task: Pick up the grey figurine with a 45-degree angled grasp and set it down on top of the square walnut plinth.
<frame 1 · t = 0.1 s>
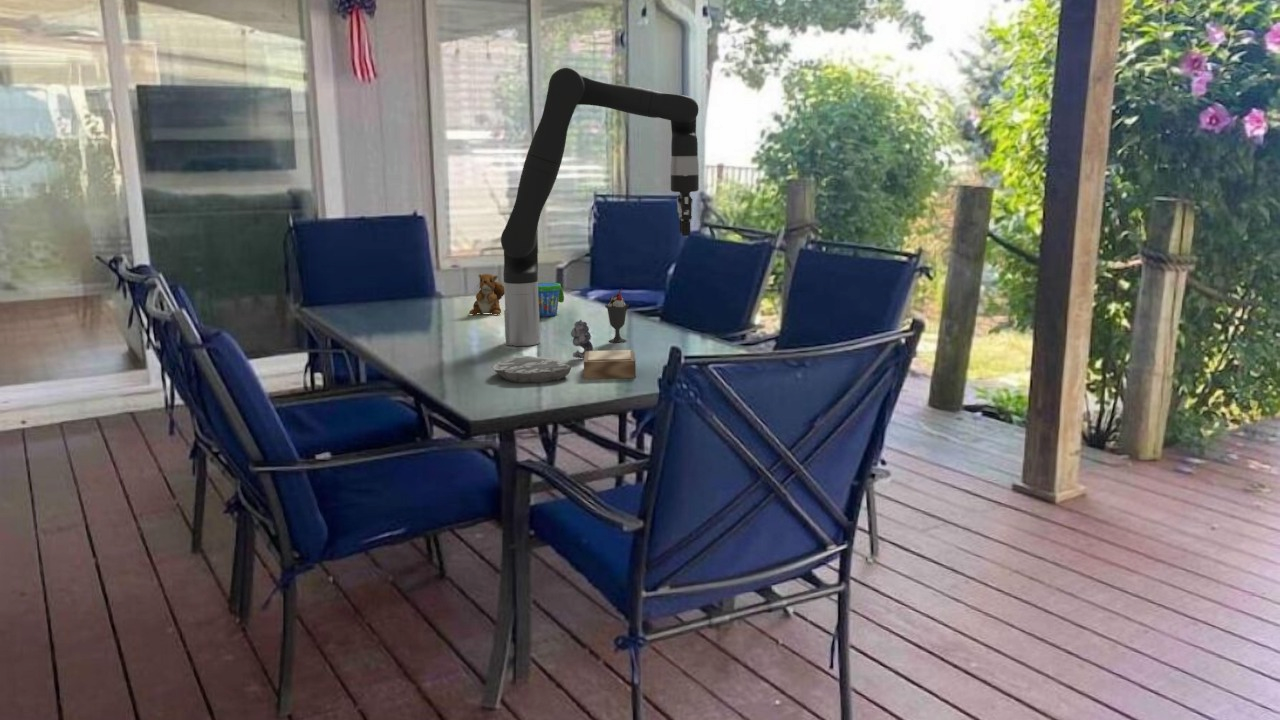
hand: (684, 234, 263), 29 cm above the table, tool pointing down, fingers open, 8 cm apart
plinth: (610, 372, 231), on the table
stuffed squirrel: (489, 313, 320), on the table
sundae: (617, 342, 268), on the table
snack cup: (545, 316, 313), on the table
grey figurine: (582, 358, 248), on the table
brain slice: (529, 378, 229), on the table
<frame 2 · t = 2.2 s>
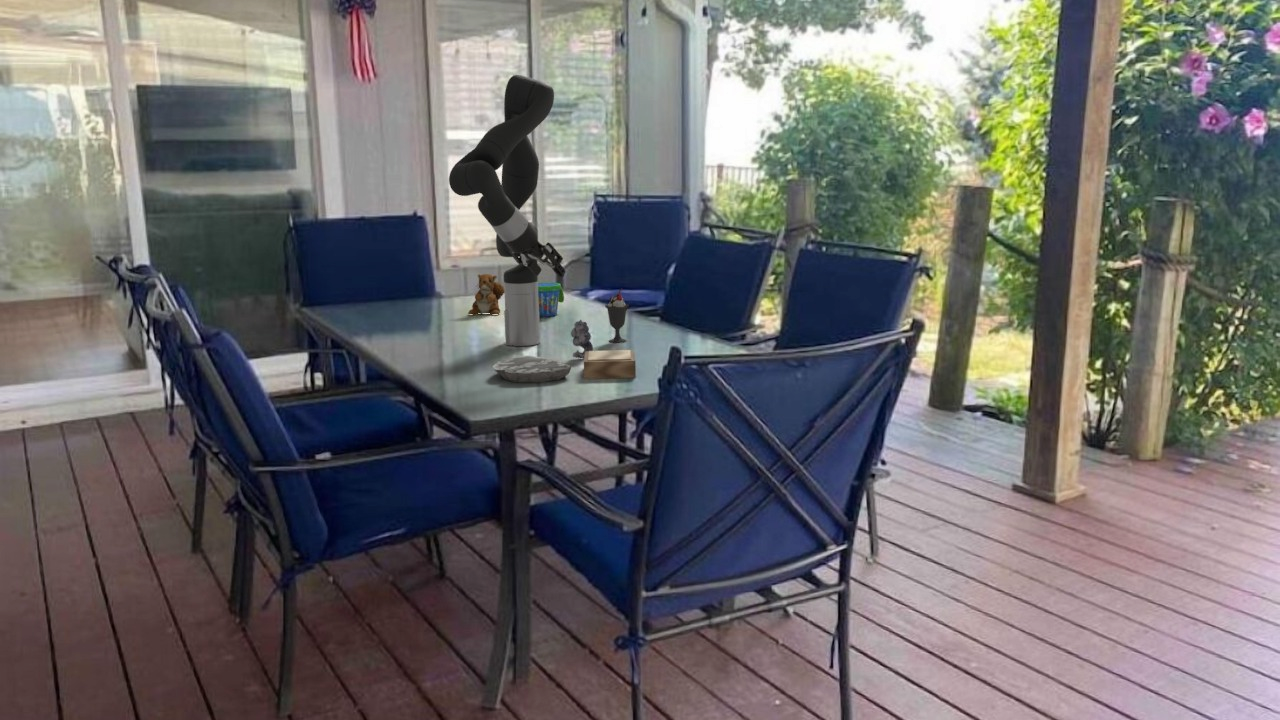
hand: (550, 273, 236), 23 cm above the table, tool tilted 45°, fingers open, 8 cm apart
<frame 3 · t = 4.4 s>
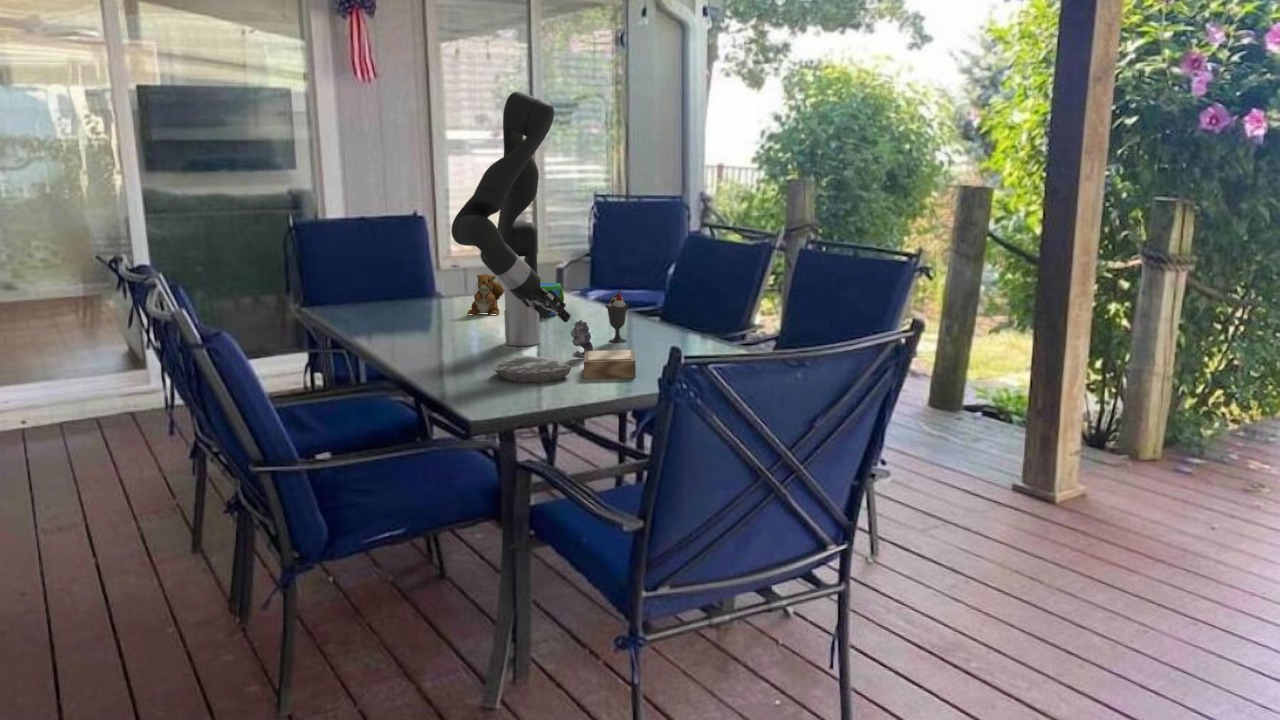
hand: (557, 317, 240), 11 cm above the table, tool tilted 45°, fingers open, 8 cm apart
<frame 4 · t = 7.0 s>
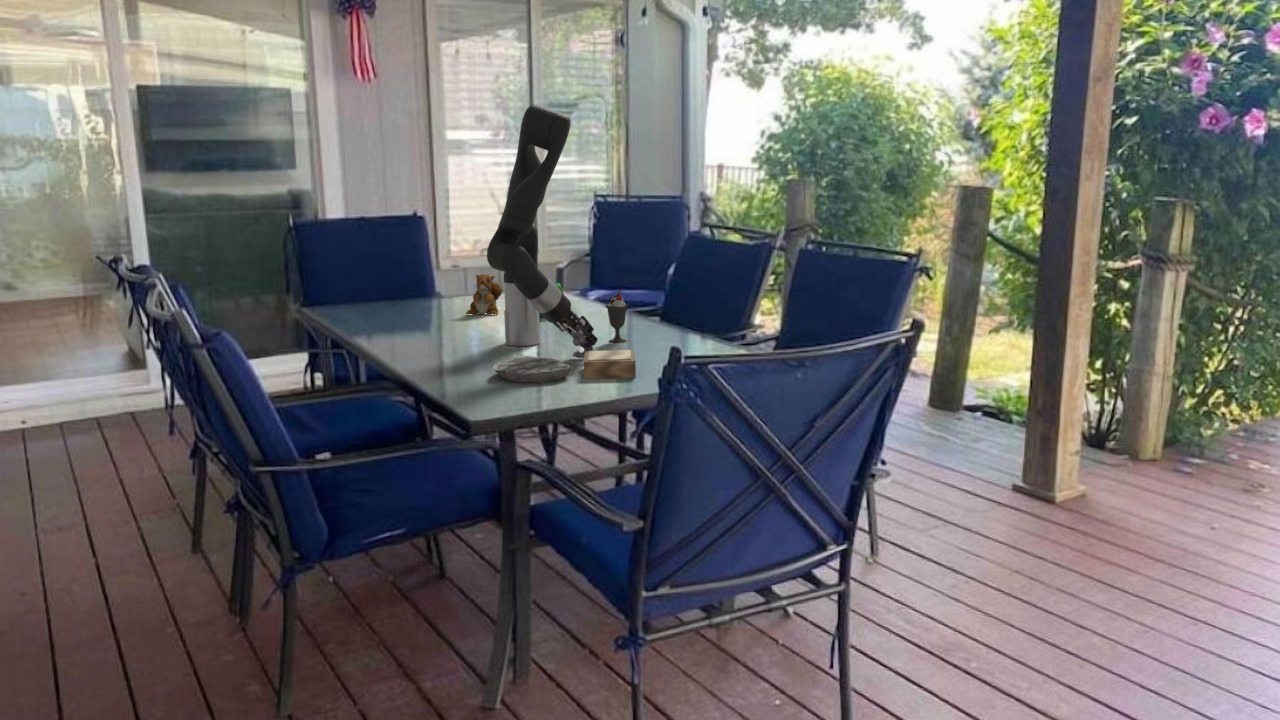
hand: (587, 340, 248), 4 cm above the table, tool tilted 45°, fingers closed on grey figurine, 5 cm apart
grey figurine: (582, 358, 248), on the table, touching gripper
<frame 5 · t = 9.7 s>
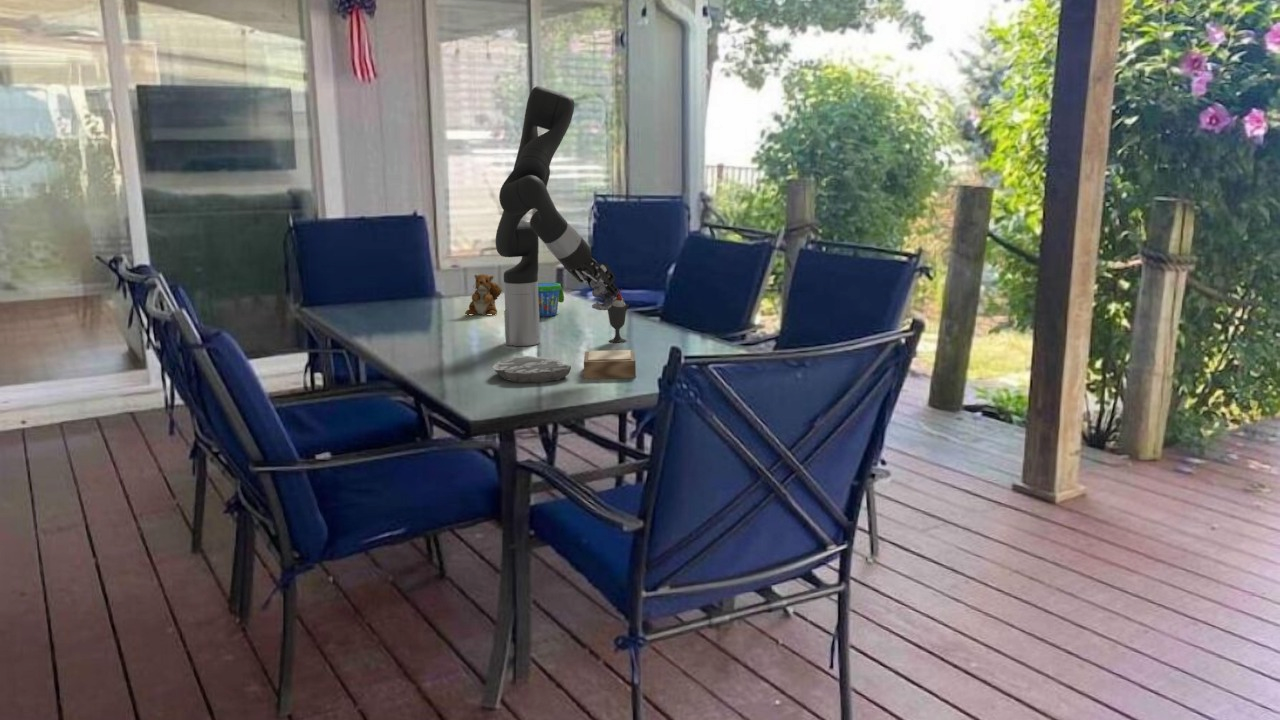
hand: (608, 292, 231), 19 cm above the table, tool tilted 45°, fingers closed on grey figurine, 5 cm apart
grey figurine: (602, 311, 231), point 14 cm above the table, touching gripper
when the fingers open (9 cm above the table, at t = 12.7 s): grey figurine stays where it is, resting on plinth.
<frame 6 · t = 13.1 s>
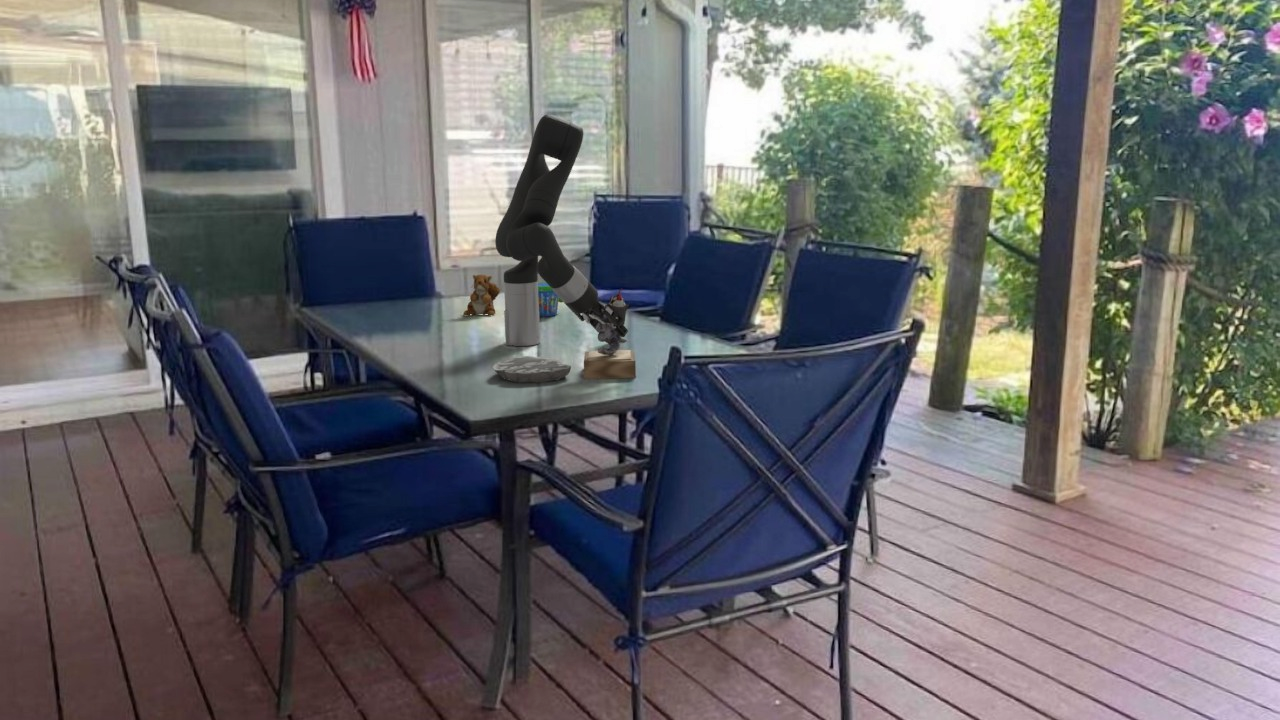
hand: (613, 331, 230), 10 cm above the table, tool tilted 45°, fingers open, 8 cm apart
grey figurine: (608, 355, 230), point 4 cm above the table, touching plinth
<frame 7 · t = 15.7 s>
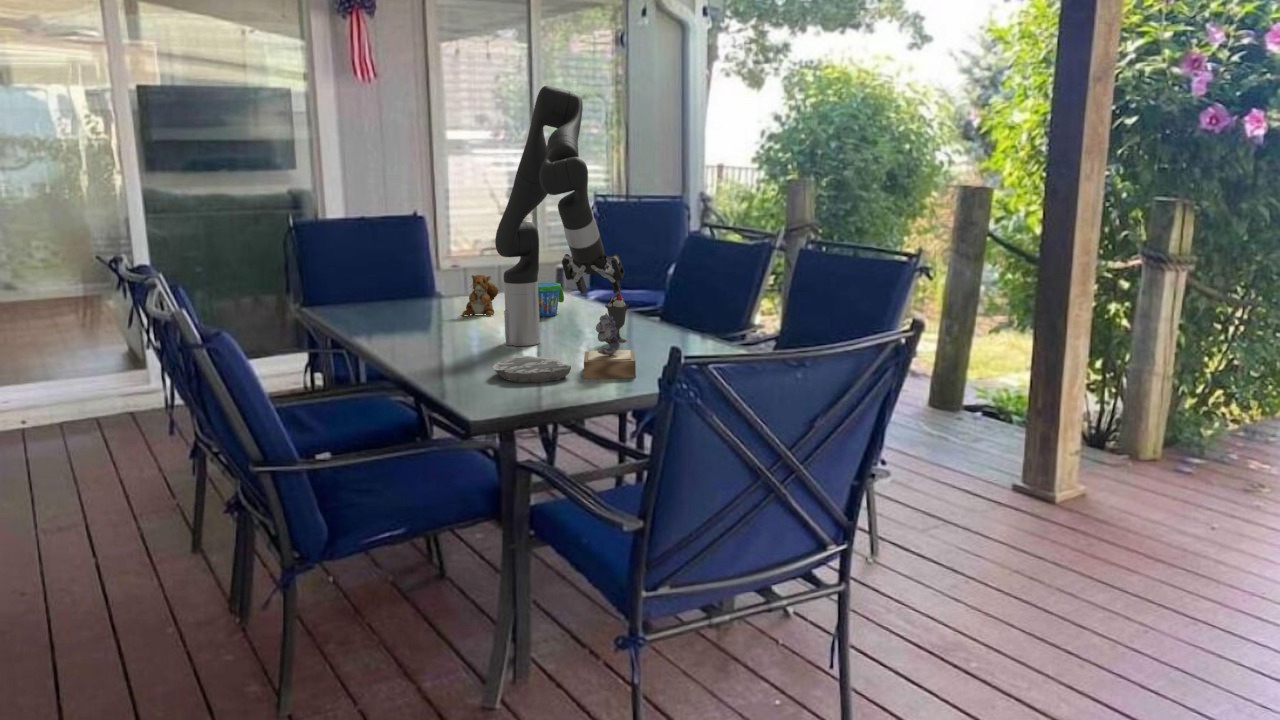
hand: (600, 291, 231), 19 cm above the table, tool tilted 30°, fingers open, 8 cm apart
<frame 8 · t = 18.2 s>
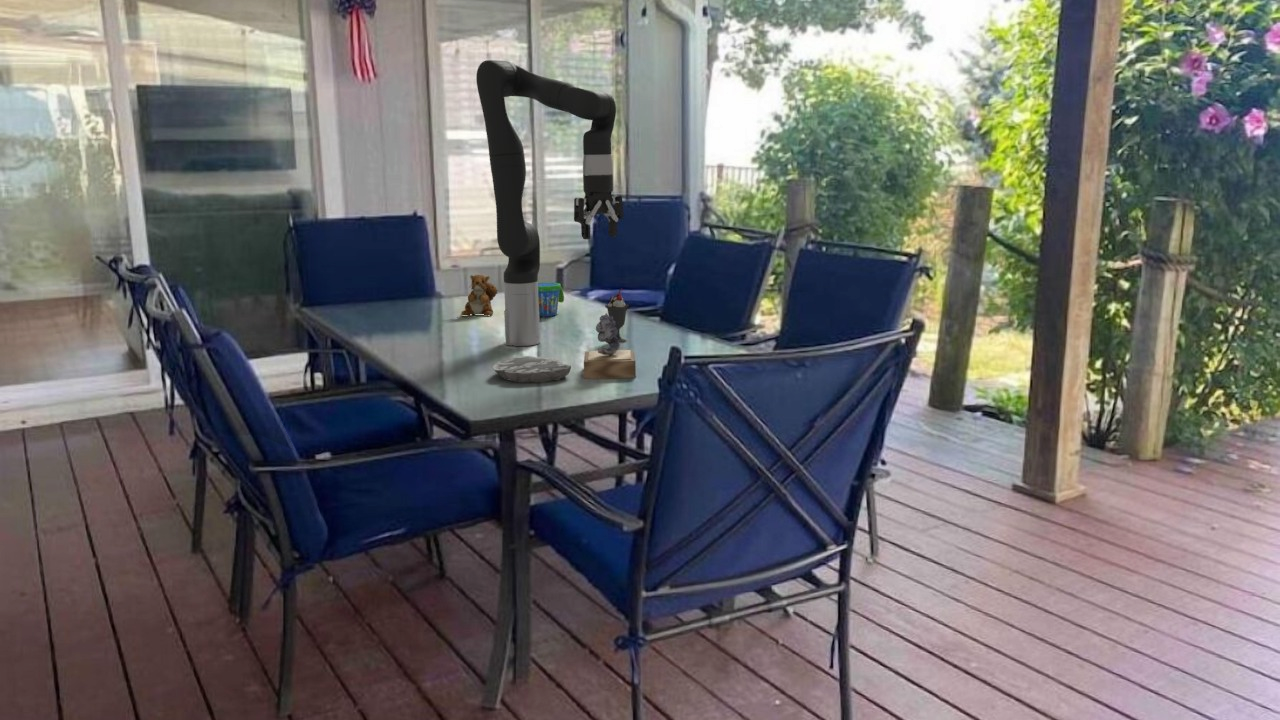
hand: (599, 237, 246), 30 cm above the table, tool pointing down, fingers open, 8 cm apart
at the end: grey figurine inside the target area on the plinth (0.3 cm from its centre), point 4.1 cm above the plinth's base; grey figurine tilted 0°; the gripper is holding nothing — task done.
